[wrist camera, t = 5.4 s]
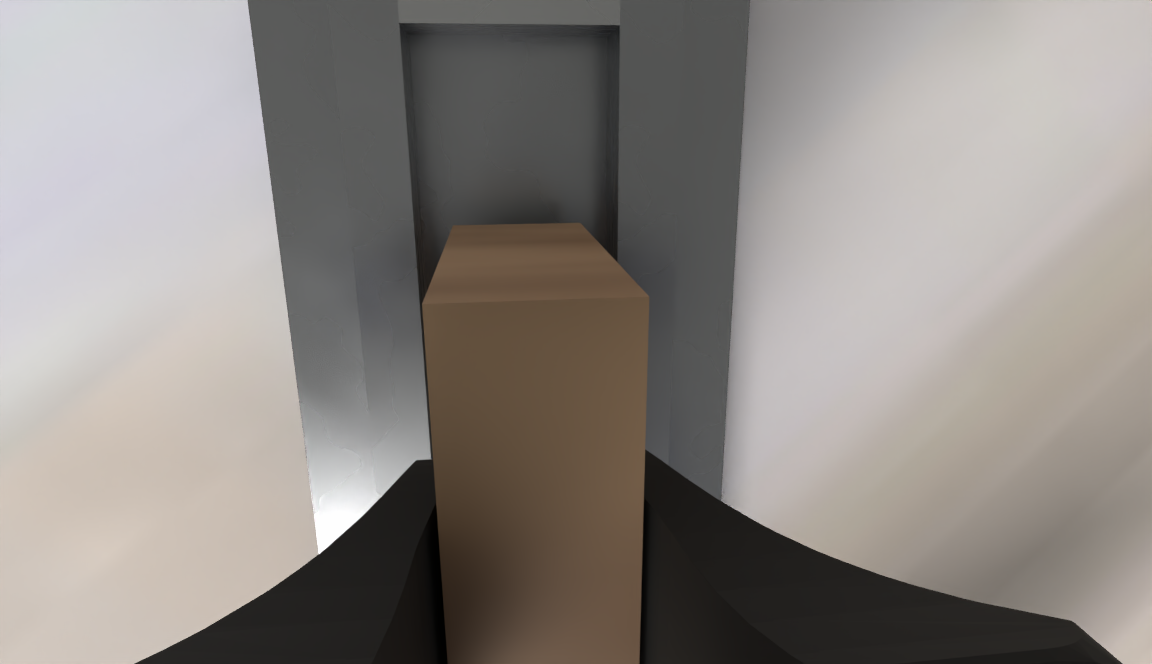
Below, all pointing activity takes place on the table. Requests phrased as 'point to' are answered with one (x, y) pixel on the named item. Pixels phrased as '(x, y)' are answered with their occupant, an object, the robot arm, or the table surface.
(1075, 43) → the table surface
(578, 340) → the door panel
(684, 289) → the floor track
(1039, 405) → the table surface
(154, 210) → the table surface
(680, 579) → the robot arm
